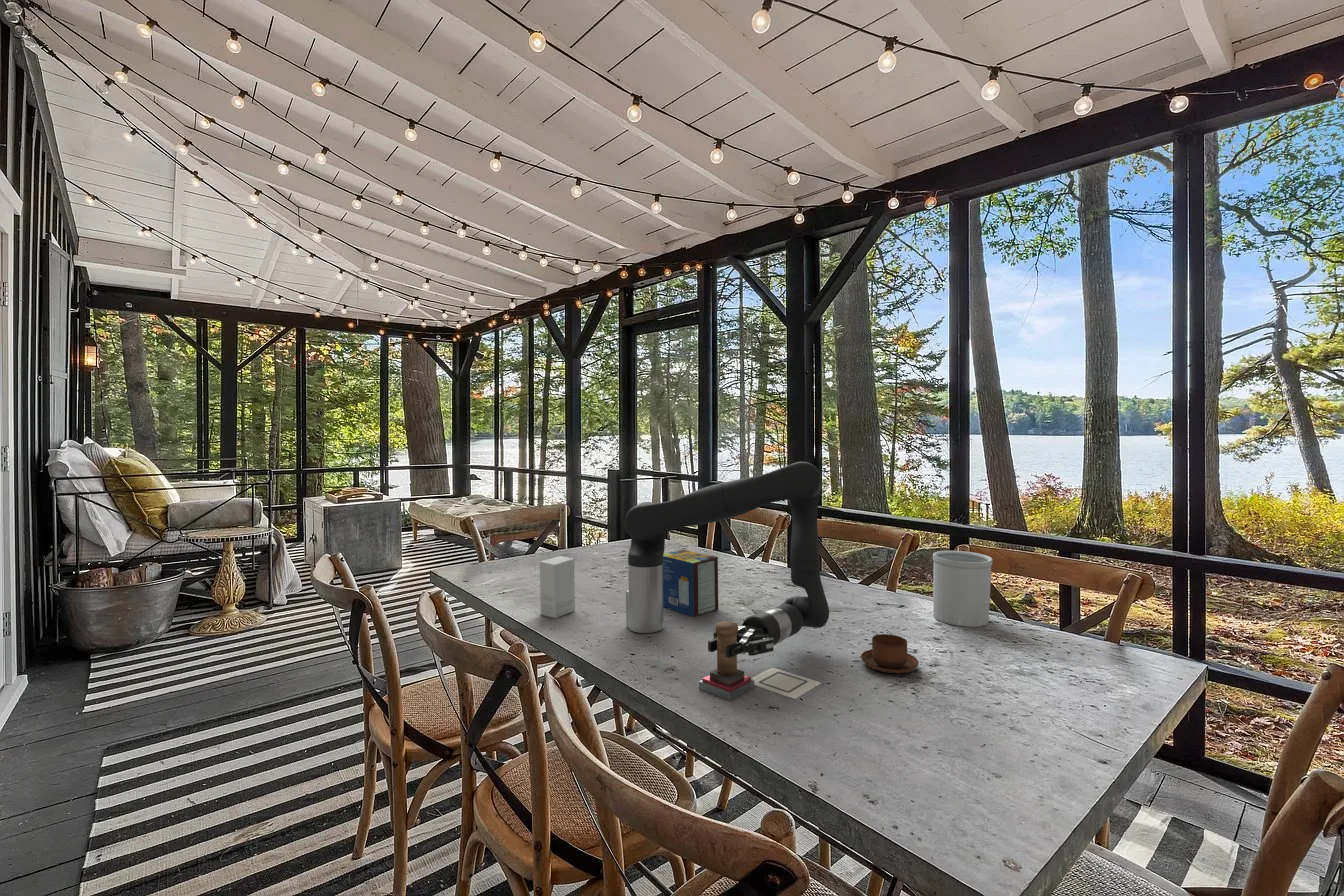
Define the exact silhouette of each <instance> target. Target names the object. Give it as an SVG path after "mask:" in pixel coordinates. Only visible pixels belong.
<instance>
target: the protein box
mask: <svg viewBox="0 0 1344 896" xmlns="http://www.w3.org/2000/svg"><path fill="white" fill-rule="evenodd" d="M664 608H665V609H668V610H670V611H673V612H676V613H680V614H683V615H686V616H690V617H693V618H694V617H698V616H701V615H704V614H707V613H711V612H714V611H717V610H719V558H718V556H715V555H710V554H705V553H700V552H694V551H692V550H691V551H690V550H685V549H680V550H674V551H669V552H664V554H663V609H664Z"/></svg>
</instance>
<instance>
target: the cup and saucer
mask: <svg viewBox="0 0 1344 896" xmlns="http://www.w3.org/2000/svg"><path fill="white" fill-rule="evenodd" d="M871 646H872V647H871V649H868V650H866V651H863V652H862V653H861V655H860V658H861V661H862V662H863V663H864V665H866V666H867V667H869V668H871V669H873V670H875V671H878V672H882V673H888V674H905V673H906V674H907V673H910V672H913V671H914V670H915V669H917V668H918V666H919V660H918V659H917V657H915V655H912V654H909V653H908V641H907V639H906V638H904V637H902V636H899V635H894V634H890V633H889V634H888V633H887V634H886V633H885V634H884V633H881V634H880V633H879V634H875V635H873V636H872V638H871Z"/></svg>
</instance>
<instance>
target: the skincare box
mask: <svg viewBox="0 0 1344 896" xmlns="http://www.w3.org/2000/svg"><path fill="white" fill-rule="evenodd" d="M575 584H576V583H575V558H572V557H567V556H561V555H560V556H556V557H552V558H548V559H545V560H544V559H543V560H542V561H539V587H540V588H539V591H540V592H539V593H540V594H539V597H540V603H539V604H540V615H541V616H545V617H548V618H549V617H550V618H553V619H557V618H560V617H562V616H566V615H567V614H570V613H574V612H575V611H576V596H575V595H576V592H575V591H576V589H575V588H576V587H575Z"/></svg>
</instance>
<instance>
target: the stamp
mask: <svg viewBox="0 0 1344 896" xmlns="http://www.w3.org/2000/svg"><path fill="white" fill-rule="evenodd" d="M738 627H739V624H738V623H735V622H732V621H719V622H717V623H715V631H716V633H717V650H716V664H717V666H716V669H713V670H711V671H710V672H709V675H710V678H711V679H714V680H717V681H719V682H722V683H725V684H728V685H730V684H732V683H734V682H736V681H738V680H740V679H742V678H744V675H745V671H744V670H741V669H738V655H736V656H733V657H731V658H728V657H726V647H727V646H729V645H731V644H734V643H736V642H737V633H738ZM715 631H714V632H715Z"/></svg>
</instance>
